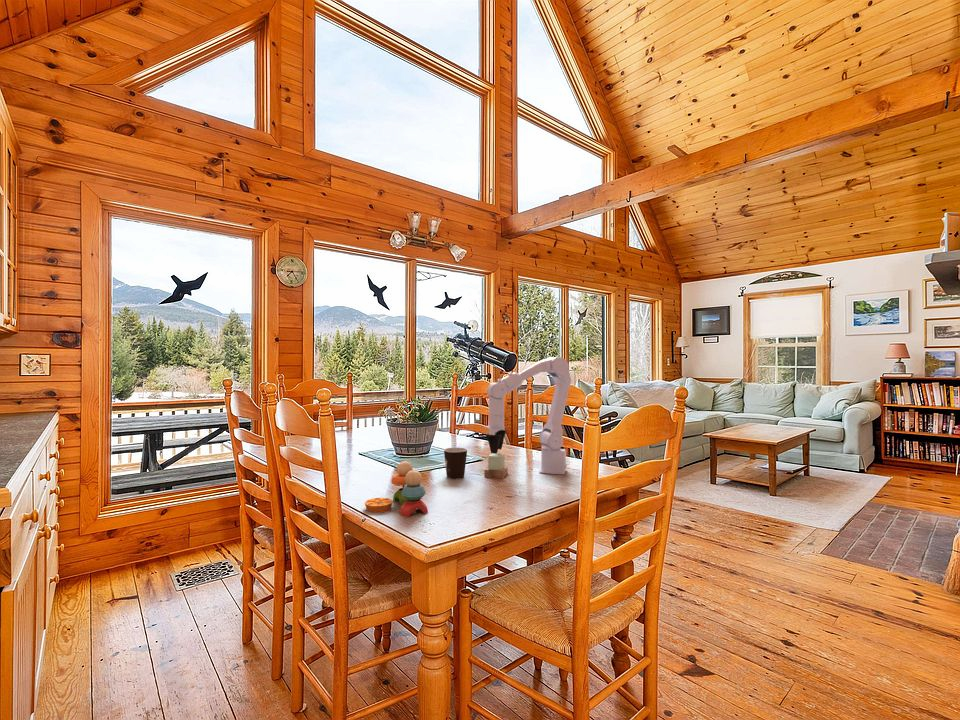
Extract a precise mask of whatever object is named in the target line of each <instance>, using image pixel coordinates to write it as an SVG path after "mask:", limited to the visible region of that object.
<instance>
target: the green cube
mask: <svg viewBox="0 0 960 720" xmlns="http://www.w3.org/2000/svg"><path fill="white" fill-rule="evenodd" d="M505 457H506V456H505V453H497V454H494V453H491V452H490V454H489V455H488V457H487V459H488V461H487V463H488V464H487V466H488V469H489V470H502V469H503V468H504V467H505V464H506V463H505Z"/></svg>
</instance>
